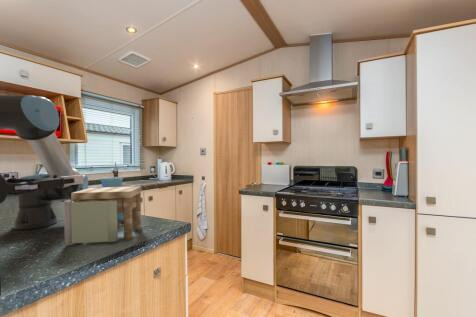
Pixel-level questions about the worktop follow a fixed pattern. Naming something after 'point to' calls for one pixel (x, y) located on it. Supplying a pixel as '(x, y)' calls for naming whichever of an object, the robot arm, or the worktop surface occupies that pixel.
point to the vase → (113, 183)
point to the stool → (125, 203)
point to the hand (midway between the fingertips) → (81, 179)
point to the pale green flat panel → (90, 221)
